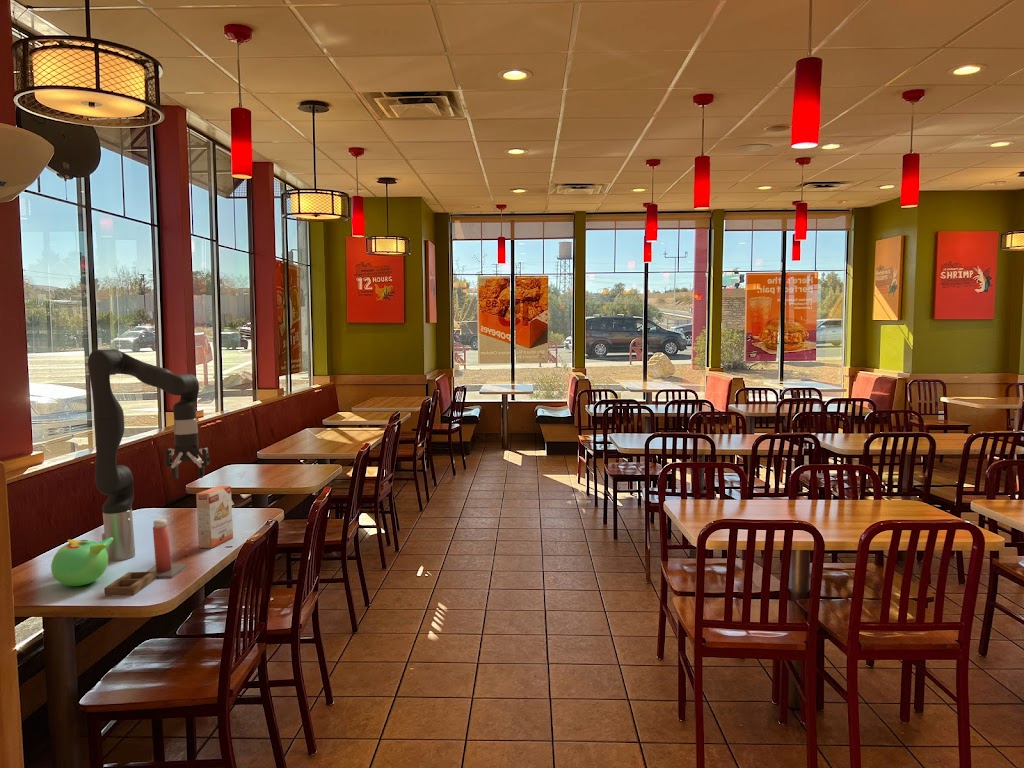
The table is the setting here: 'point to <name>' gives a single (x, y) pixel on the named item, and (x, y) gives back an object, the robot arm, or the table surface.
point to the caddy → (130, 583)
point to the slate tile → (169, 574)
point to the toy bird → (80, 562)
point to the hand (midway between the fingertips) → (188, 478)
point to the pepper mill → (161, 545)
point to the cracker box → (214, 516)
